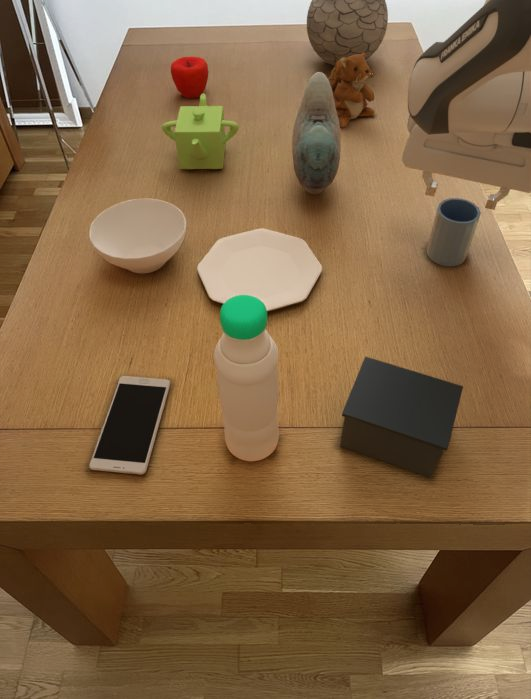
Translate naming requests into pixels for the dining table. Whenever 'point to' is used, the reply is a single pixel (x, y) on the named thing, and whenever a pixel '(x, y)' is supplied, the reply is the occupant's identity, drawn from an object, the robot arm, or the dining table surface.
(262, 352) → the water bottle
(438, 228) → the cup
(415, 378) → the container
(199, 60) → the apple
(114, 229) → the bowl
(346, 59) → the stuffed squirrel
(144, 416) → the smartphone
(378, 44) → the decorative sphere
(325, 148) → the decorative stone
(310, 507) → the dining table surface
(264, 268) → the plate
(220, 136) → the teapot
